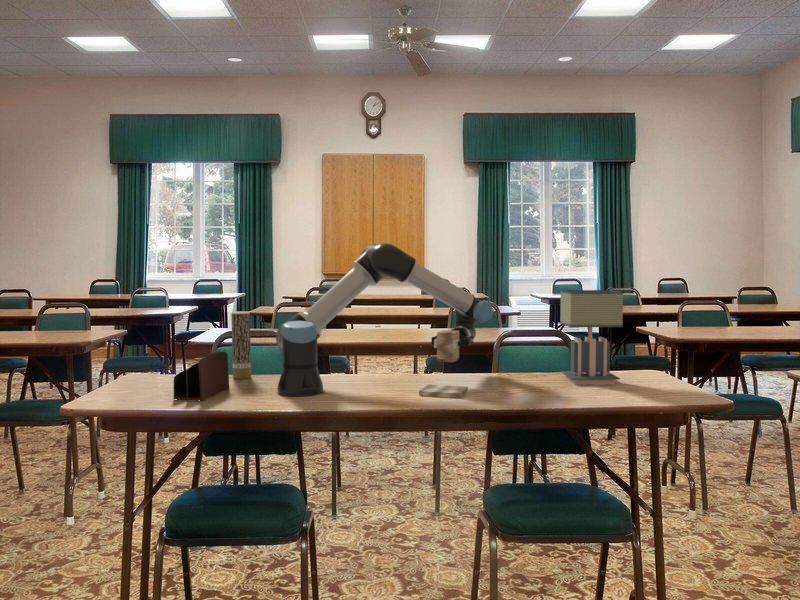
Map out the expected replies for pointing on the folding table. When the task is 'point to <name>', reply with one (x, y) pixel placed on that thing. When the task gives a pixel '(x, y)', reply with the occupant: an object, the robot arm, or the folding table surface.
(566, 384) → the folding table surface
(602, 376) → the desk lamp
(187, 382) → the letter holder
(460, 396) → the board
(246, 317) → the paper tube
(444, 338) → the block
